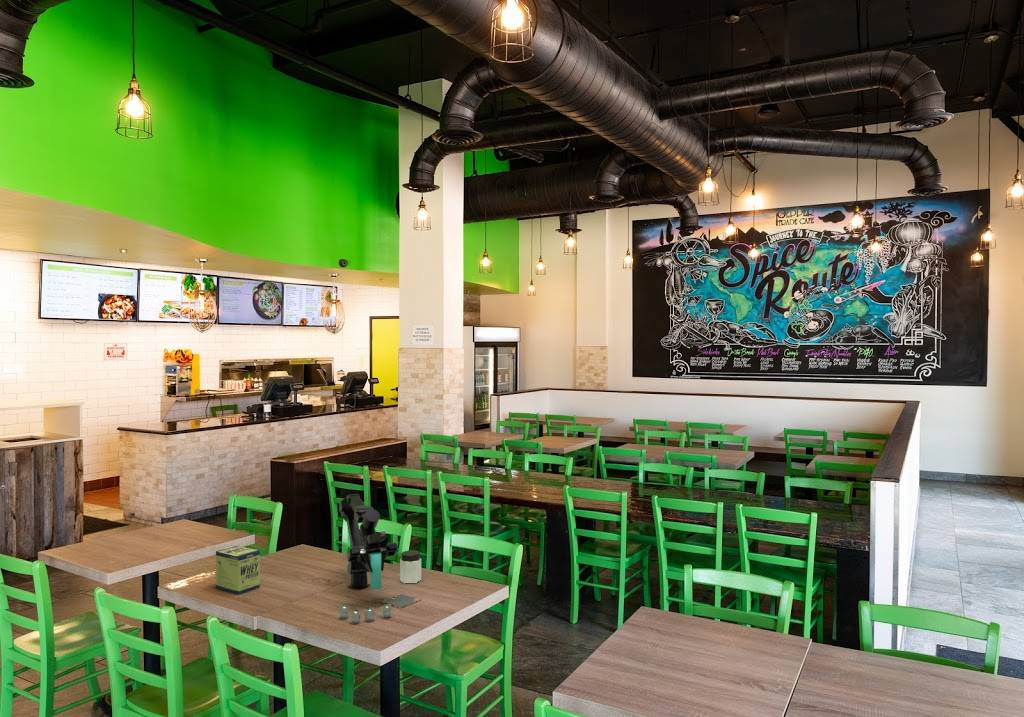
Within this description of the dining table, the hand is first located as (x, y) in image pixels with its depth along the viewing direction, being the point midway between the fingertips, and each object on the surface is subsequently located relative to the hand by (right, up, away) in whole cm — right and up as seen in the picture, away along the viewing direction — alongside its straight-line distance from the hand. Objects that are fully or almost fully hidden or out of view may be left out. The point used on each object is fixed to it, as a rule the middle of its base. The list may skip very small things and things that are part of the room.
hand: (377, 571), depth 267 cm
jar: (+8, -14, +31) cm, 35 cm away
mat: (+8, -13, +6) cm, 17 cm away
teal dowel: (-1, -7, +1) cm, 7 cm away
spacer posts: (-2, -14, -11) cm, 17 cm away
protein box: (-62, -14, +23) cm, 68 cm away
